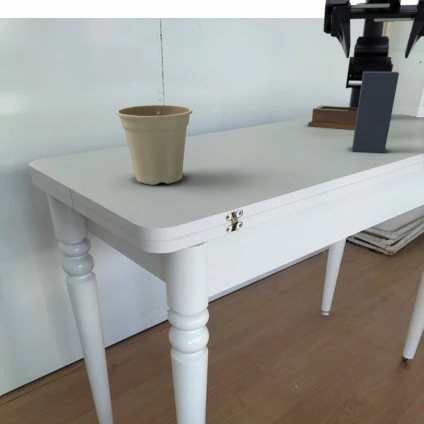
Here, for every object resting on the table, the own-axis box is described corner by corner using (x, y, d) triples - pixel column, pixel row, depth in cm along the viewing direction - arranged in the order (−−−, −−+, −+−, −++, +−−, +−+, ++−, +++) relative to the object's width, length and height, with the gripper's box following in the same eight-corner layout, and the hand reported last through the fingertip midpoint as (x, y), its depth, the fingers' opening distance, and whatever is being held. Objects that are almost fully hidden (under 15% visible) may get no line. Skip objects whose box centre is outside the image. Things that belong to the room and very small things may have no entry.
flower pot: (186, 190, 56) (183, 116, 51) (113, 187, 57) (104, 114, 52) (200, 171, 64) (198, 105, 59) (135, 169, 65) (129, 104, 60)
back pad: (352, 148, 75) (363, 71, 70) (383, 149, 74) (397, 71, 68) (352, 151, 73) (363, 72, 67) (384, 152, 72) (399, 72, 66)
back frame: (317, 121, 99) (319, 104, 97) (364, 124, 95) (366, 107, 93) (308, 126, 94) (309, 109, 92) (356, 129, 89) (359, 112, 88)
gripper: (332, -67, 71) (320, 16, 68) (461, -74, 67) (454, 14, 64) (328, -5, 82) (318, 69, 79) (439, -8, 78) (432, 70, 75)
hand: (376, 56), depth 74 cm, fingers open, 9 cm apart
